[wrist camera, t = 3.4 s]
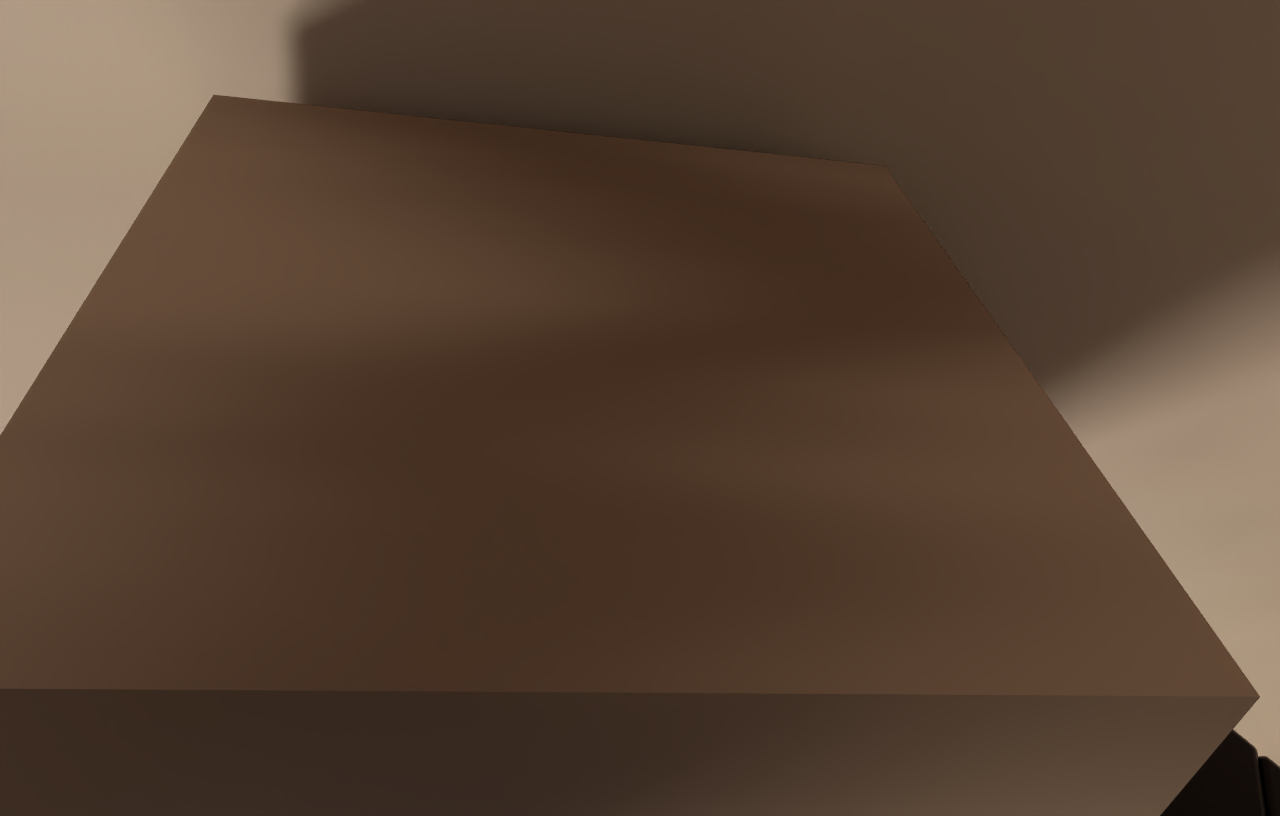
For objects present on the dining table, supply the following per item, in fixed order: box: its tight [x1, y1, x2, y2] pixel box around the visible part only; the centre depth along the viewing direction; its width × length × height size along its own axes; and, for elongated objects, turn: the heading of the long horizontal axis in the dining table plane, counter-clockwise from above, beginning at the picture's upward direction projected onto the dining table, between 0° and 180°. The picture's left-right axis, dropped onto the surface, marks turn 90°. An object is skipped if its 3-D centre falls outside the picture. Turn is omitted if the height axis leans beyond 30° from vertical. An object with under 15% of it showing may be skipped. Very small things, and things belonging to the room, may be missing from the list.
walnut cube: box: [0, 95, 1260, 816], centre depth 7 cm, size 5×5×5 cm
